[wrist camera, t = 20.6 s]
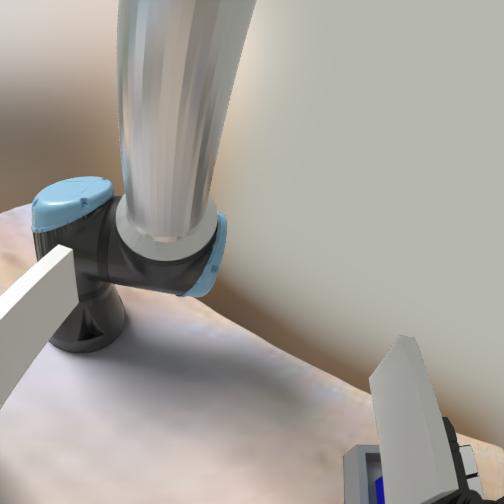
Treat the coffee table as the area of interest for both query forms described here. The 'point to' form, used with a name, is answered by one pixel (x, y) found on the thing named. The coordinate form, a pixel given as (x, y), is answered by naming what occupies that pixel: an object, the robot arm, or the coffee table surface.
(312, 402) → the coffee table surface
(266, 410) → the coffee table surface
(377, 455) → the tote
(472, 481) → the puzzle cube
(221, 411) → the coffee table surface
